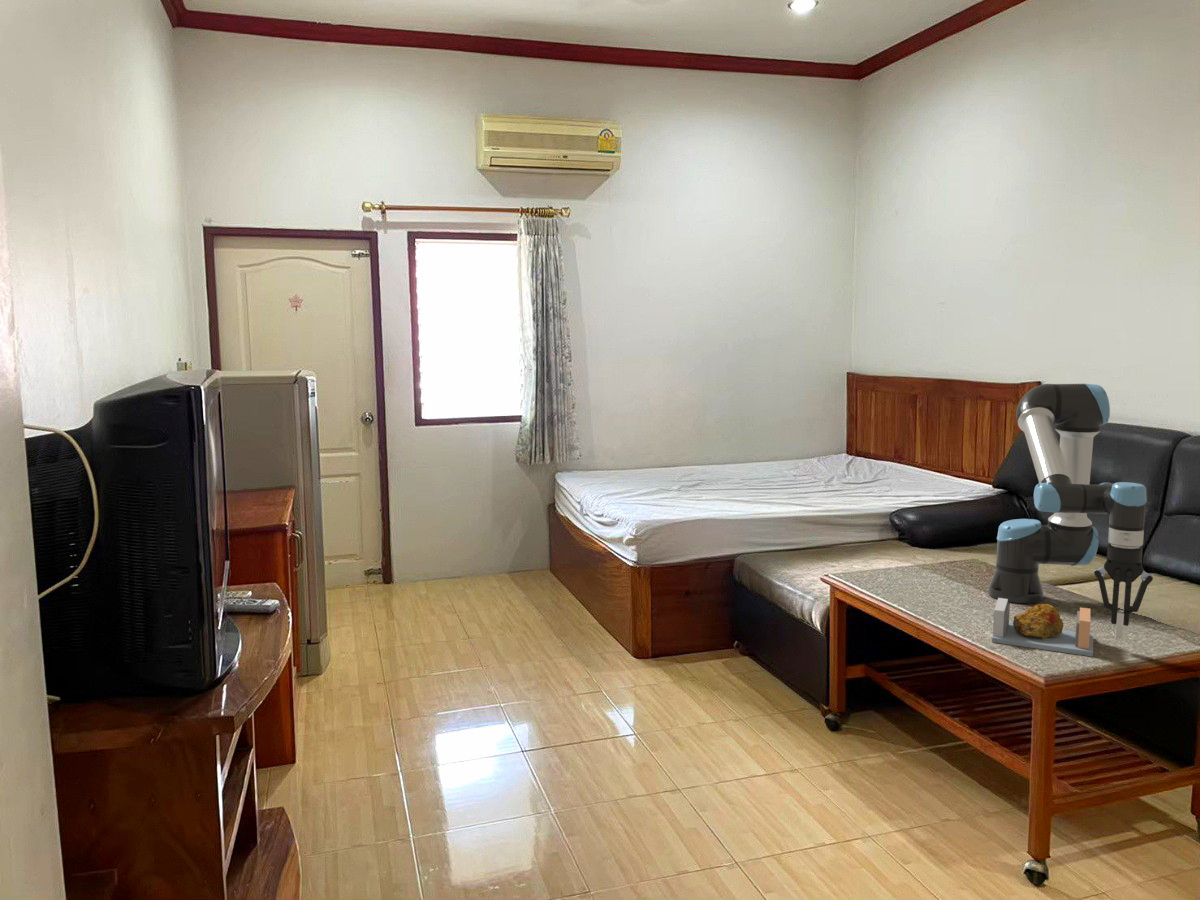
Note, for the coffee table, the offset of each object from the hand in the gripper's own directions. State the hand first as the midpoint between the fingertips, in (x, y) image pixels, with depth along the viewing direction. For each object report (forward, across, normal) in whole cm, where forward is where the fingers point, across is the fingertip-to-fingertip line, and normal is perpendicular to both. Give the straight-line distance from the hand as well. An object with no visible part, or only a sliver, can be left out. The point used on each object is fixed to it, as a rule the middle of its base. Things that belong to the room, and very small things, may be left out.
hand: (1118, 636), depth 225 cm
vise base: (+4, -17, 0) cm, 17 cm away
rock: (+3, -18, +1) cm, 18 cm away
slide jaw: (+2, -8, 0) cm, 8 cm away
